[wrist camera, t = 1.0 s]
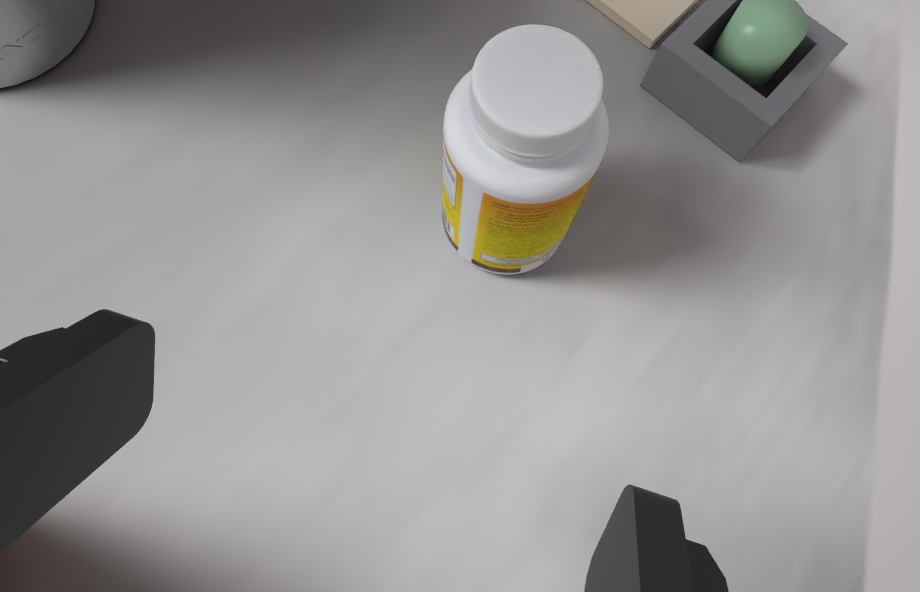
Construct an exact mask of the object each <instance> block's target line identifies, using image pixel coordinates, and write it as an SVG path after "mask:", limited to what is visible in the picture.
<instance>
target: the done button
mask: <svg viewBox="0 0 920 592" xmlns="http://www.w3.org/2000/svg"><path fill="white" fill-rule="evenodd" d="M807 29H808V21H807V17H806V15H805V12H804V11H803V9H802V8H801V7H800V5H799V4H798V3H797V2H796V1H794V0H743V1H742V2H741V3H740V5H739V7H738V8H737V10H736V11H735V13H734V15H733V16H732V18H731V19H730V21H729V23H728V24H727V26H726V27H725V29H724V31H723V32H722V34H721V35H720V37H719V38H718V40H717V42H716V43H715V45H714V48H713V53H712V56H713V59H714V60H716V61H717V62H718V63H720V64H721V65H722V66H724V67H725V68H726V69H728V70H729V71H730V72H732V73H733V74H734V75H736V76H737V77H738V78H740V79H741V80H742V81H744V82H745V83H746V84H748V85H749V86H757V85H761V84H763V83H766V82H767V81H769V80H770V79H771V78H772V77H773V75H774V74H775V73H776V72H777V70H778V69H779V68H780V67H781V65H782V64H783V63H784V62H785V61H786V59H787V58H788V57H789V56H790V54H791V53H792V52H793V51H794V50H795V48H796V47H797V46H798V45H799V43H800V42H801V41H802V40H803V38H804V37H805V35H806V33H807Z"/></svg>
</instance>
